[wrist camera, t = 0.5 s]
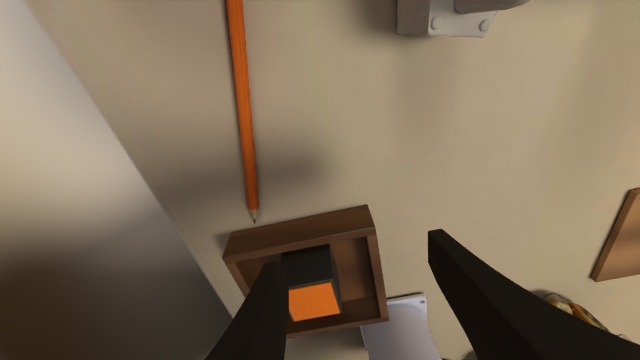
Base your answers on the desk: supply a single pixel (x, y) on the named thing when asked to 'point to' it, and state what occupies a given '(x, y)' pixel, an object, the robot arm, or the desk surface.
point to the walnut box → (349, 254)
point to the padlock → (450, 16)
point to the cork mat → (622, 244)
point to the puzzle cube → (311, 282)
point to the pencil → (243, 100)
